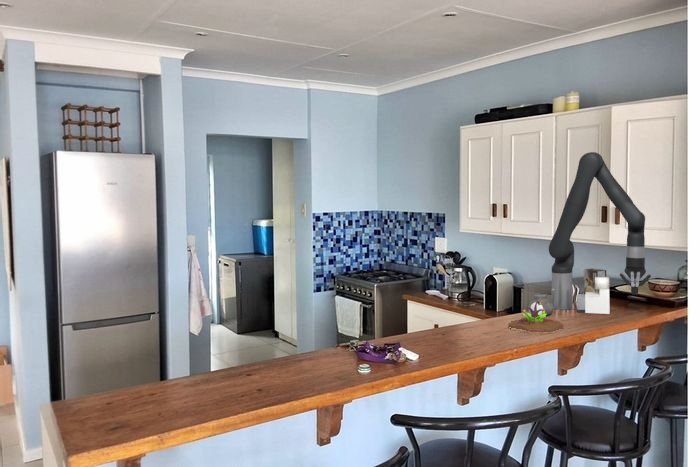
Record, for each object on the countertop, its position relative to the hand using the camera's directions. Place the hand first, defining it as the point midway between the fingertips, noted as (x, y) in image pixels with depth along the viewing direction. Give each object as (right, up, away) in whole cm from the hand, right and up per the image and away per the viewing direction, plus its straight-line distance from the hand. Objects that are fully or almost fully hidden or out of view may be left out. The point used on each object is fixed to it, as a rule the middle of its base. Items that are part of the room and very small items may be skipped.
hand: (634, 294), depth 254 cm
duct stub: (-17, -9, +8) cm, 21 cm away
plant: (-49, -12, -18) cm, 54 cm away
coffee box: (-4, -7, +31) cm, 32 cm away
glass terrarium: (-40, -10, +3) cm, 41 cm away
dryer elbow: (-14, -8, +6) cm, 17 cm away
